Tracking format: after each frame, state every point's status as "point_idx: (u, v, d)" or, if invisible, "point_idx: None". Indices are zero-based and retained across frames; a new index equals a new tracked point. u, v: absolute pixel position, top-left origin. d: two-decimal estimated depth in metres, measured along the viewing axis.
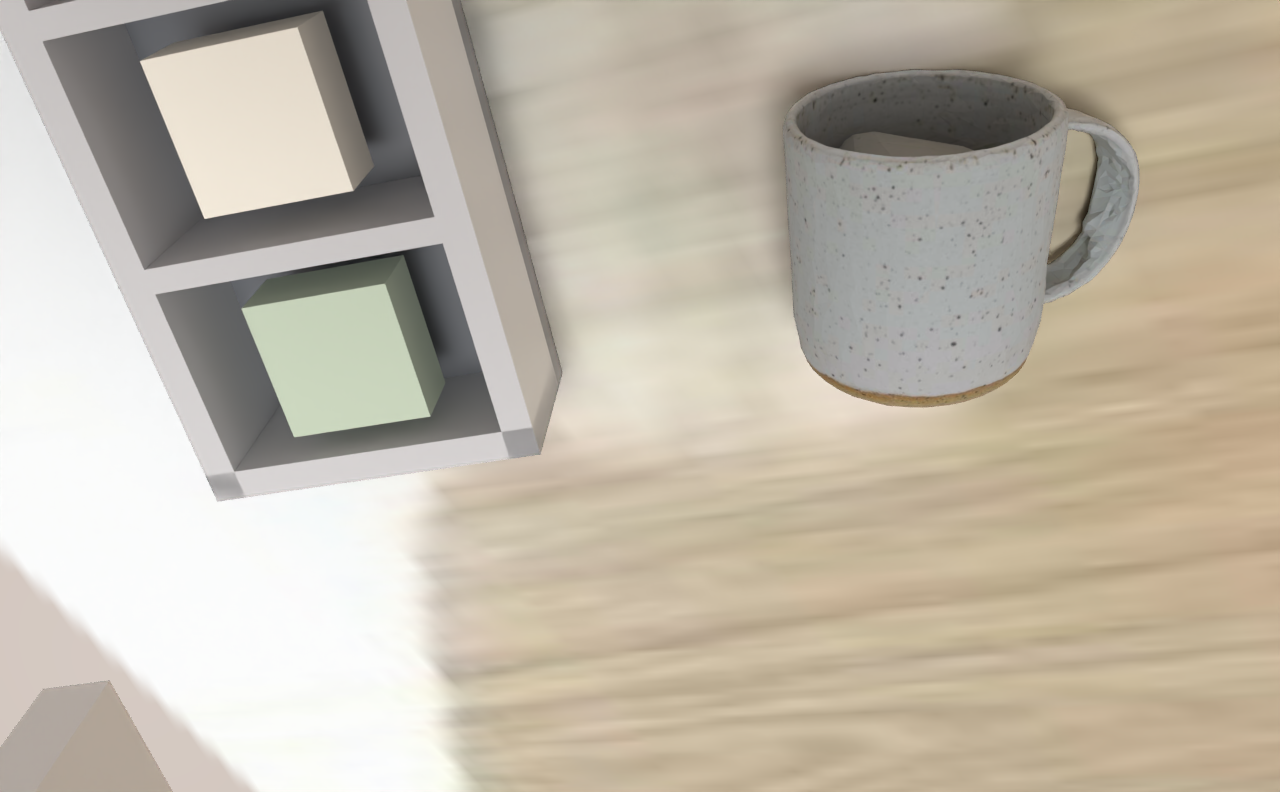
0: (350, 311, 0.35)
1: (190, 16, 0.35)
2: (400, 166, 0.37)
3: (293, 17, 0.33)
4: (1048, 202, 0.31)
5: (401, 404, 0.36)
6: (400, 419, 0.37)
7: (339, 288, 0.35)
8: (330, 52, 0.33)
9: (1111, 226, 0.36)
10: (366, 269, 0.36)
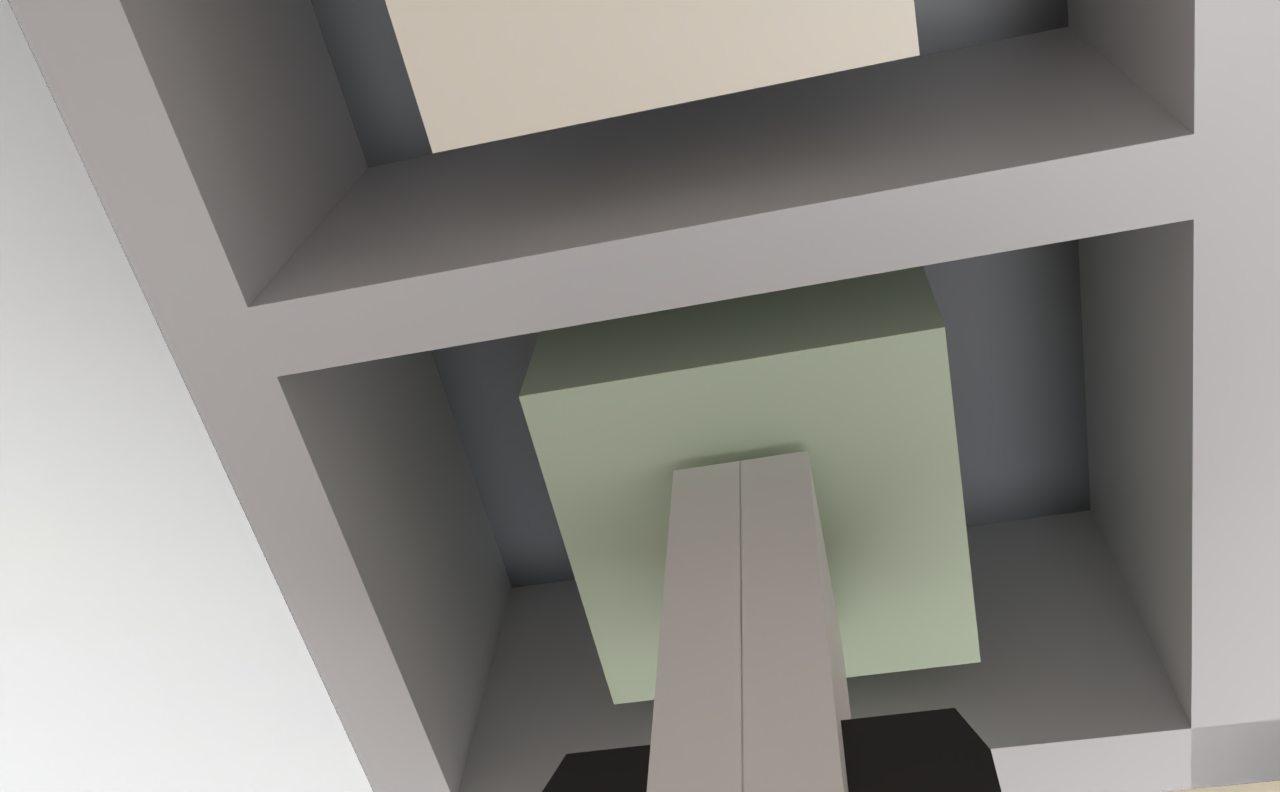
0: (826, 402, 0.13)
1: None
2: None
3: None
4: None
5: (911, 634, 0.14)
6: (894, 665, 0.14)
7: (797, 339, 0.13)
8: None
9: None
10: (834, 284, 0.14)
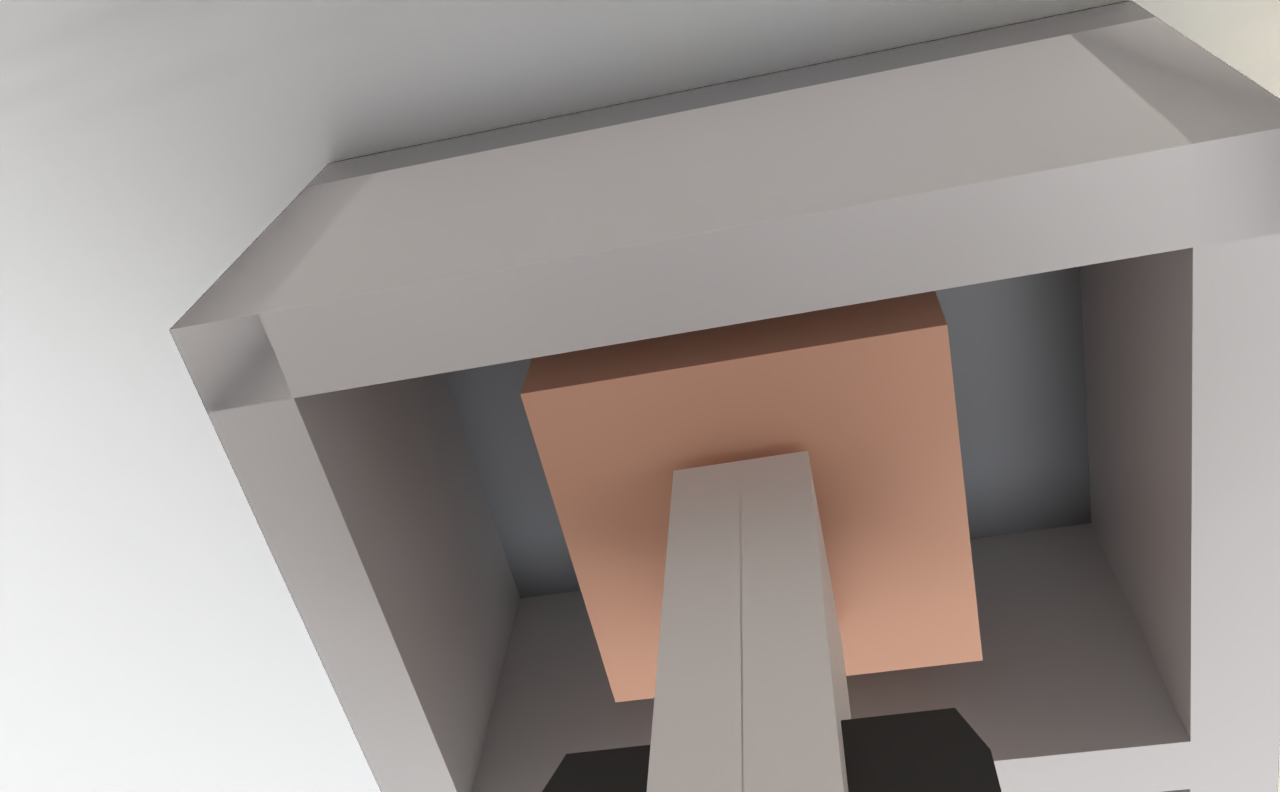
0: None
1: None
2: None
3: None
4: None
5: None
6: None
7: None
8: None
9: None
10: None
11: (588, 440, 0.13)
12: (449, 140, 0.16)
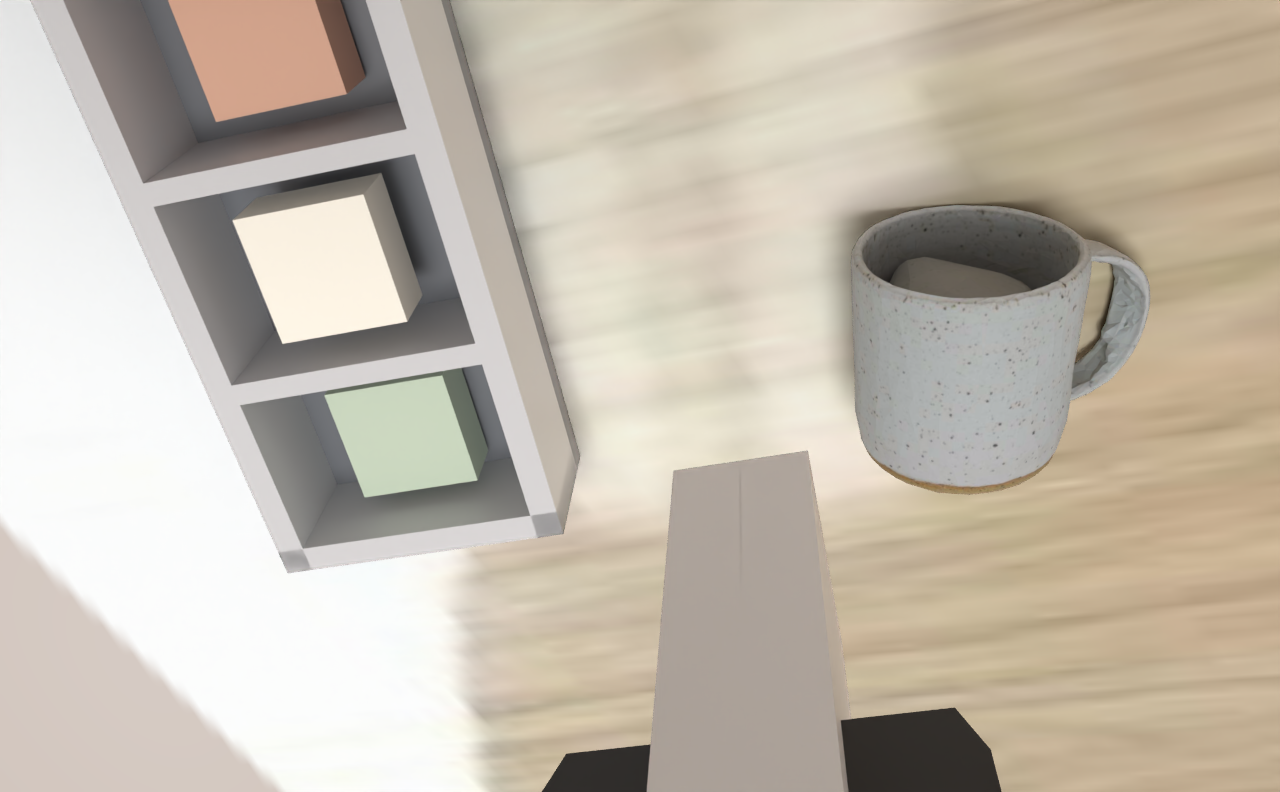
0: (413, 396, 0.43)
1: None
2: (443, 290, 0.43)
3: (357, 178, 0.39)
4: (1075, 330, 0.37)
5: (453, 470, 0.44)
6: (453, 482, 0.45)
7: (404, 378, 0.43)
8: (387, 207, 0.39)
9: (1126, 336, 0.42)
10: None
11: None
12: None
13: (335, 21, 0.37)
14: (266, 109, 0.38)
